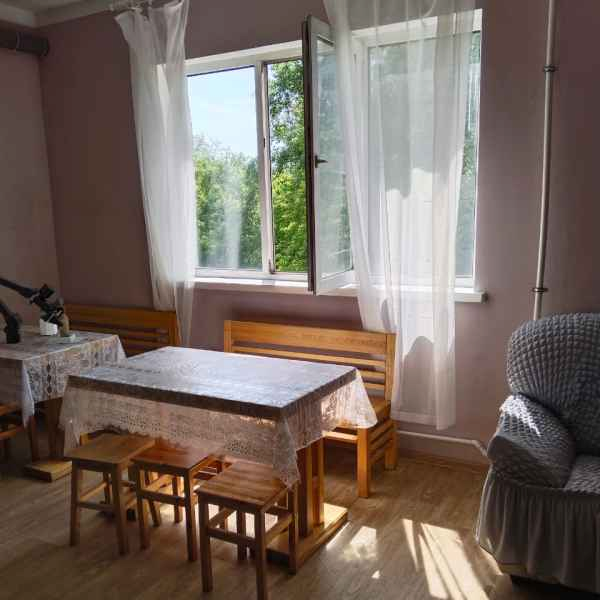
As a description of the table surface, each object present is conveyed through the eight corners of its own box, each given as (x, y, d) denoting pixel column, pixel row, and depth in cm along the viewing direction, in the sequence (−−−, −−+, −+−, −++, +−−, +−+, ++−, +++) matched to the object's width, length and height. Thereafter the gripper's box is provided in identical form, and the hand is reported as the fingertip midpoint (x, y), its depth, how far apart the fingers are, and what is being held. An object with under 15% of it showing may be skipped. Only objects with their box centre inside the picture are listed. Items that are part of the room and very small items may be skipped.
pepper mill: (61, 341, 335) (59, 315, 332) (59, 339, 339) (57, 313, 336) (70, 340, 337) (68, 314, 335) (68, 338, 341) (66, 312, 339)
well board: (44, 344, 332) (44, 339, 331) (51, 339, 343) (51, 334, 343) (79, 343, 333) (78, 338, 332) (85, 337, 345) (84, 332, 344)
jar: (42, 336, 349) (40, 315, 347) (39, 334, 356) (37, 313, 354) (59, 334, 354) (57, 313, 352) (56, 331, 361) (54, 311, 358)
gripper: (46, 296, 324) (69, 317, 326) (59, 290, 343) (81, 310, 345) (32, 312, 326) (56, 332, 328) (47, 305, 344) (68, 324, 346)
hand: (66, 324), depth 337 cm, fingers open, 9 cm apart
